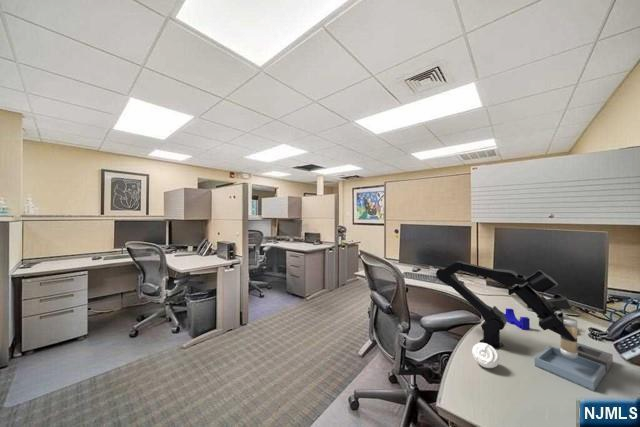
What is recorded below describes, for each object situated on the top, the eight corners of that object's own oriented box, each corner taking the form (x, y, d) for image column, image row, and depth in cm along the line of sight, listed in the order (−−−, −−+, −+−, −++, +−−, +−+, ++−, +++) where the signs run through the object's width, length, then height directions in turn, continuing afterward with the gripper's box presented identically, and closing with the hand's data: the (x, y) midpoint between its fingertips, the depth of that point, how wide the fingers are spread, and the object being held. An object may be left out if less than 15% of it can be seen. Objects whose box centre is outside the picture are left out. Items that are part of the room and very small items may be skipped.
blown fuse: (570, 359, 78) (569, 321, 78) (556, 351, 82) (556, 316, 83) (581, 358, 78) (581, 321, 79) (567, 351, 83) (567, 316, 83)
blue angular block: (502, 319, 121) (502, 308, 122) (511, 319, 121) (511, 308, 121) (519, 330, 110) (519, 317, 110) (529, 330, 109) (529, 318, 109)
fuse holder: (606, 372, 79) (606, 362, 79) (565, 357, 88) (565, 348, 88) (612, 363, 84) (612, 354, 84) (573, 349, 93) (573, 341, 93)
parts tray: (593, 391, 70) (593, 381, 70) (534, 365, 82) (534, 357, 82) (605, 374, 78) (605, 365, 78) (550, 353, 90) (549, 345, 90)
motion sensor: (469, 364, 83) (469, 343, 83) (476, 356, 88) (476, 336, 88) (495, 376, 77) (495, 353, 77) (502, 367, 81) (502, 346, 82)
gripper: (551, 293, 77) (603, 338, 69) (553, 283, 90) (596, 320, 82) (521, 309, 83) (565, 352, 75) (526, 297, 96) (564, 333, 87)
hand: (574, 338), depth 80 cm, fingers closed on blown fuse, 4 cm apart
